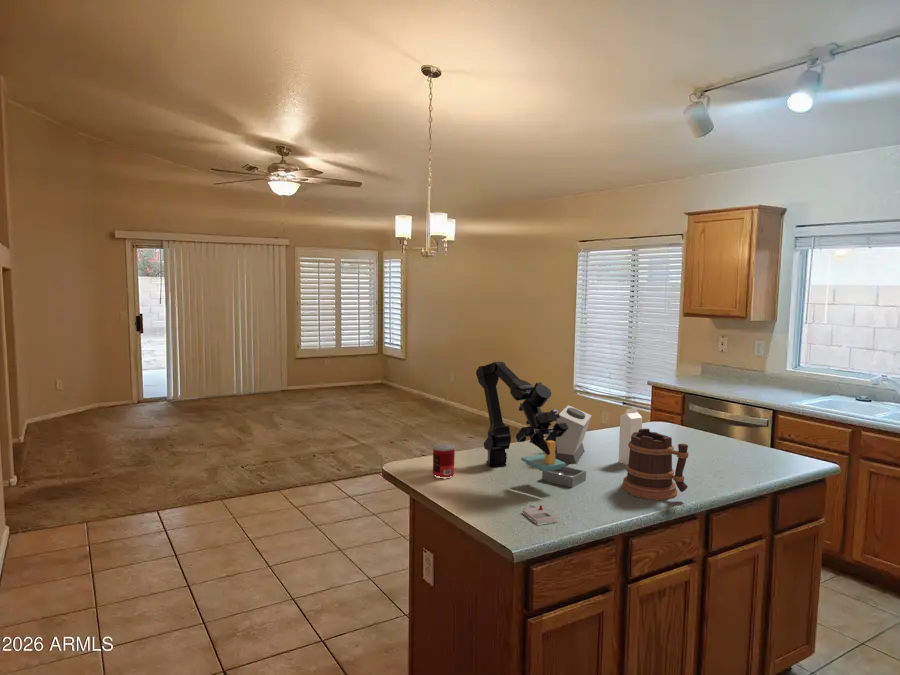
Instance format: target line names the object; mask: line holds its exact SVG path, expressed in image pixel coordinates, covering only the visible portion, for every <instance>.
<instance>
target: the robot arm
mask: <svg viewBox="0 0 900 675" xmlns="http://www.w3.org/2000/svg"><path fill="white" fill-rule="evenodd" d="M475 372H476V373H475V374H476V378H477V381H478V383H479V385H480V386H481V387H482V388H483V391H484V395H485V396H484V397H485V402H486V407H487V408H486V409H487V413H488V418H489V424H490V426H489V428H488V431H487V437H486V439H485V440H484V442H483V447H484V449H485V450H486V451H487V460H485V462H486V464H488V466H489V467H490V468H494V467H495V468H496V467H507V456H508V455H507V452H506V450H509V448H510V445H511V441H512V435H511V430H510V426H509V425H506V424H505V423H504V421H503V420H504V419H503V416H502V415H503V414H502V409H501V405H500V401H499V400H500V399H499V394H498V388H497V385H498V382H499V379H500V380H501V381H502V382H503V383H504V384H505V385H506V386H507V387H508V388H509V393H510V395H511V396H512V398H513V399H514V400H515V401H522V402H520V405H519V407H518V411H519V412H523V413H524V415H525V418H526V421H525V423H526V425H528V426H522V427H521V428H520V429H519V430H518V432H517V433H516V435H515V439H516V441H517V442H518V443H525V442H526V440H527V437H529V438H530V440H529V444H532V445H535V447H537V448H539V450H541V451H543V453H544V454H545V453H546V454H547V455H549V454H550V451H549V449H548V446H547V444H546V442H545V441H548V440H552V441H555V442H556V437H561V436H562V435H563V434H564V433H565V432H566V431H567V430H568V429H569V428H568V426H567V424H566V423H564V422H562V423H556V421H557V419H558V418H560V415H559V414H560V412H559V410H558V409H552V410H550V411H546V412H545V411H542V409H541V408H542V407H544V405H545V404H546V403H547V401H549V399H550V398H551V396H552V391H551V389H550V388H549V387H547V386H546V385H544V384H543V383H542V382H541V381H540V382H536V383H534V385H533V384H531V383H530V382H528V381H526V380H523V379H521V378H519V377H518V376H517V375H516V374H515V373H514V372H513V371H512V370H511V369H510V368H509V367H508V366H507V365H506V362H504V361H493V362H491V363H490V364H489V363H488V364H485V365H479V366H478V367H477V369H476V371H475ZM553 422H555V423H556V424H555V423H554V425H553V426H552V427H551V425H552V424H553ZM544 436H545V437H546V438H545V437H544ZM556 453H557V447H556V450H555V454H556Z"/></svg>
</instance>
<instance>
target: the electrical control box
mask: <svg viewBox="0 0 900 675" xmlns="http://www.w3.org/2000/svg"><path fill="white" fill-rule="evenodd" d="M532 507H533V508H532ZM522 512H523V513H524V514H525V515H527V516H528V517H529V518H531V519H532V520H533V521H535V522H536V523H537V524H541V523H550V522H551V523H552V522H558V523H559V521H558V519H557V518H556V516H554V515H552V514H551V513H550V512H549V511H547V510H545V509H544V508H543V505H541V504H540V505H539V506H534V505H532V504H530V507H529V508H528V507H527V508H524V507H523V509H522ZM523 513H522V514H523ZM524 514H523V515H524ZM525 515H524V516H525ZM528 517H527V518H528ZM529 518H528V519H529ZM533 521H532V522H533ZM537 524H536V525H537Z"/></svg>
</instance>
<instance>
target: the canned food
mask: <svg viewBox="0 0 900 675" xmlns="http://www.w3.org/2000/svg"><path fill="white" fill-rule="evenodd" d="M455 450H456V449H455V445H454V444H451V443H437V444H434V445H433V448H432V475H433V474H434V475H436V476H440V477H450V476H453V475H455V455H456V454H455ZM453 477H454V476H453Z"/></svg>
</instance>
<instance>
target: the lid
mask: <svg viewBox="0 0 900 675" xmlns="http://www.w3.org/2000/svg"><path fill="white" fill-rule="evenodd" d="M545 442H546V444H547V446H548V449H549V451H550V454H549V455H547V454H546V453H545V452H544V453H542V454H536V455H534V454H533V455H528V456H523V457H521V458H520V460H521V461H522V462H525V465H528V466H530V467H531V468H532V467H533V468H535V469H536V470H538V471H541V473H542V472H544V471H550V470H556V469H561V467H564V466H567V462H562V461H560V460H558V459H555V450H556V442H555V441H552V440H548V441H545Z"/></svg>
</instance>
